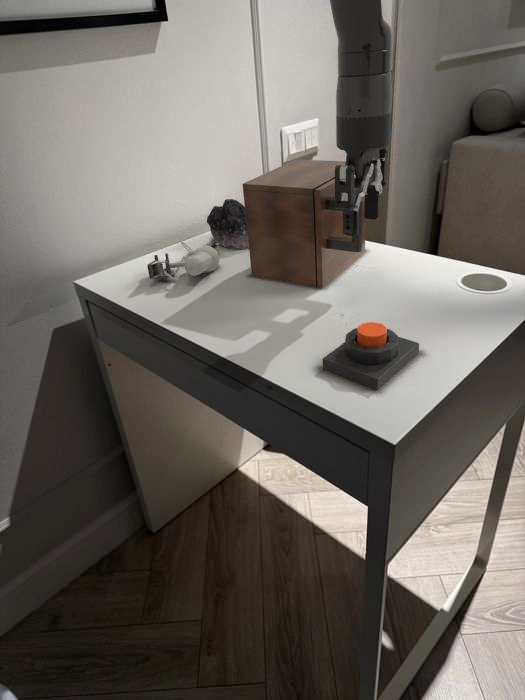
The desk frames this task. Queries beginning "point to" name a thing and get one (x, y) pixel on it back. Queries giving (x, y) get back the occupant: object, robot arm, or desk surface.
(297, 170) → the cabinet
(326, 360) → the button box
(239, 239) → the crystal cluster
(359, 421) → the desk surface
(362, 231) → the cabinet door
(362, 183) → the robot arm
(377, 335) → the release button
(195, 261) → the clip-on lamp
